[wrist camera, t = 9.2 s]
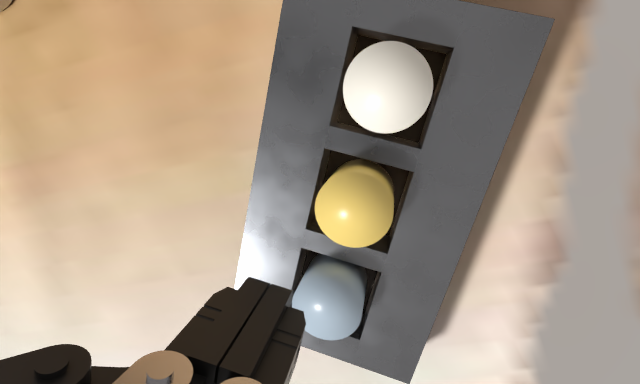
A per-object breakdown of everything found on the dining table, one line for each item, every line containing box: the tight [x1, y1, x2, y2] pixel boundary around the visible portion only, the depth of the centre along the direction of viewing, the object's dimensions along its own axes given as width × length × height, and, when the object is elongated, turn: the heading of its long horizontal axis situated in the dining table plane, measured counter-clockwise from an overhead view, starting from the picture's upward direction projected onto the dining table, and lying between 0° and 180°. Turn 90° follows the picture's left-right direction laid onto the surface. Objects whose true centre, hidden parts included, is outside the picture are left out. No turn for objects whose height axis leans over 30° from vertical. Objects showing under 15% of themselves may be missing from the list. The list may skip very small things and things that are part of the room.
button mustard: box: [315, 159, 394, 248], centre depth 22 cm, size 5×5×4 cm
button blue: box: [292, 253, 367, 340], centre depth 24 cm, size 5×5×4 cm
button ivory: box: [343, 41, 433, 133], centre depth 20 cm, size 5×5×4 cm
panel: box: [234, 0, 555, 384], centre depth 23 cm, size 14×24×3 cm, turn 167°
